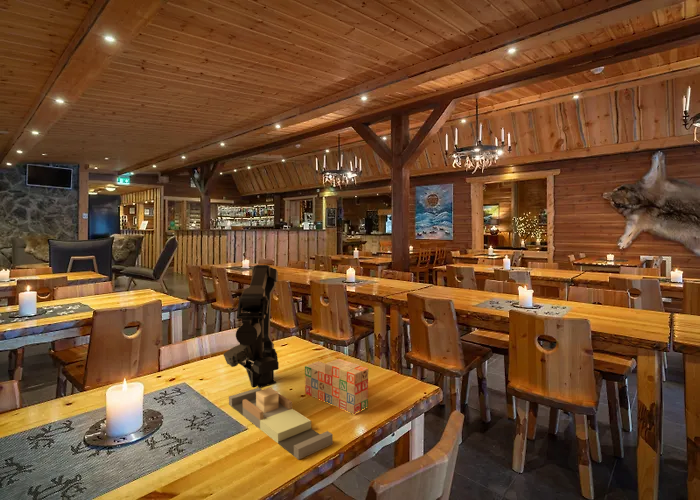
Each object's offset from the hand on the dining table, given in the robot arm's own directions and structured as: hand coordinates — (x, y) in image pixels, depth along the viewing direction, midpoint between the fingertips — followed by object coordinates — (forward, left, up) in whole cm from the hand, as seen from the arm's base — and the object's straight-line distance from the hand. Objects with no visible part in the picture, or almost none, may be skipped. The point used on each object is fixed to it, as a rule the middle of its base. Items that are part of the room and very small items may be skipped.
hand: (254, 387), depth 117 cm
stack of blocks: (-21, +12, -6) cm, 25 cm away
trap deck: (0, +12, -6) cm, 14 cm away
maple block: (0, +8, -4) cm, 9 cm away
